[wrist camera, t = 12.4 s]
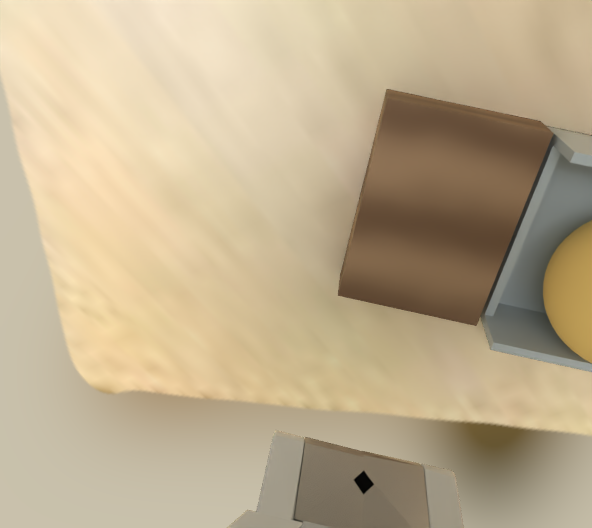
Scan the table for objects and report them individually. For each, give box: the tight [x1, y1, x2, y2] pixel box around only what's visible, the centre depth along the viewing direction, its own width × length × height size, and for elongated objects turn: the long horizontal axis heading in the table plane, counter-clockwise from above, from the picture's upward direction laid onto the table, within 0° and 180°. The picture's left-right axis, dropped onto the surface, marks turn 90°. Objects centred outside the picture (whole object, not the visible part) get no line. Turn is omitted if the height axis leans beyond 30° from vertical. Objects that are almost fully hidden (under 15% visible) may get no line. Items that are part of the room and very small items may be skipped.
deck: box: [338, 89, 553, 326], centre depth 38 cm, size 14×10×3 cm
